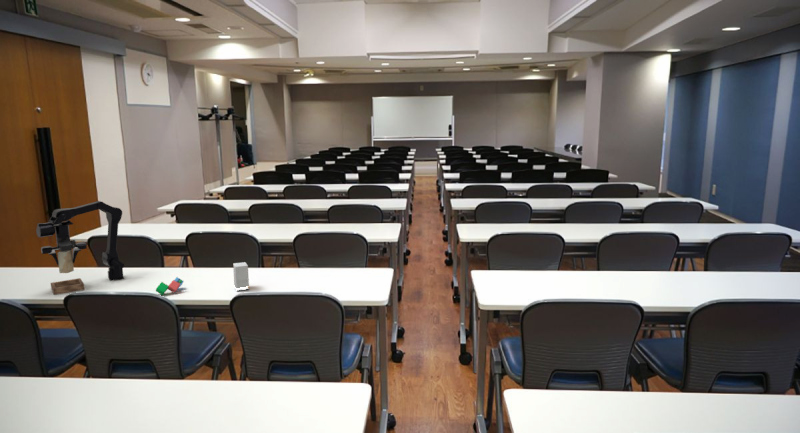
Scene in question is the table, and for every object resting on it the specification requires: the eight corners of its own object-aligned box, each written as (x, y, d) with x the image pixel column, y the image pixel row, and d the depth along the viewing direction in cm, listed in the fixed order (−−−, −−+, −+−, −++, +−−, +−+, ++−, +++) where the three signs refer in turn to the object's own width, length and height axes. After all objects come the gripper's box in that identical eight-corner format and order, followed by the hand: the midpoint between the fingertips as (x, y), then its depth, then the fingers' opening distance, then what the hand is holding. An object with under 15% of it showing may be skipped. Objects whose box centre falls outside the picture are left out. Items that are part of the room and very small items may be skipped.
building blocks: (168, 301, 249) (182, 283, 257) (170, 296, 243) (185, 277, 251) (154, 293, 247) (169, 275, 255) (156, 288, 241) (171, 269, 249)
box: (67, 273, 250) (65, 252, 248) (59, 273, 250) (56, 252, 248) (74, 270, 255) (72, 249, 253) (66, 270, 255) (63, 249, 253)
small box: (249, 290, 253) (248, 265, 250) (236, 292, 250) (235, 267, 248) (246, 285, 260) (245, 261, 258) (234, 287, 257) (232, 263, 255)
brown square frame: (80, 283, 263) (80, 278, 263) (84, 289, 253) (84, 283, 253) (51, 288, 255) (50, 282, 254) (53, 294, 245) (53, 288, 245)
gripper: (41, 239, 237) (45, 270, 240) (87, 234, 249) (90, 264, 252) (39, 235, 246) (42, 266, 248) (83, 231, 258) (86, 260, 260)
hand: (65, 264), depth 252 cm, fingers closed on box, 6 cm apart
